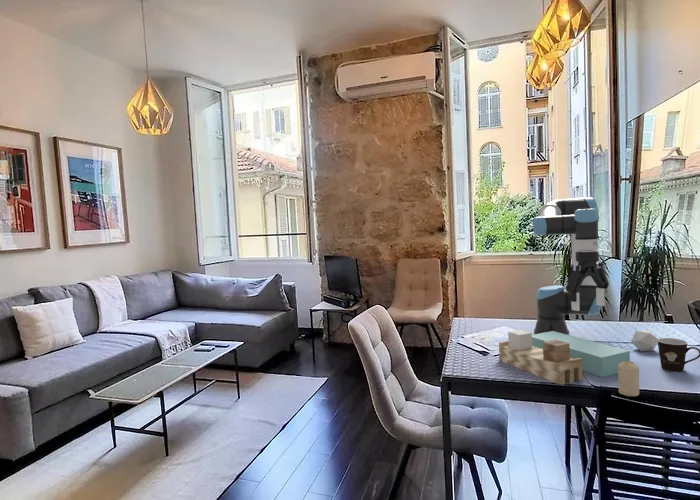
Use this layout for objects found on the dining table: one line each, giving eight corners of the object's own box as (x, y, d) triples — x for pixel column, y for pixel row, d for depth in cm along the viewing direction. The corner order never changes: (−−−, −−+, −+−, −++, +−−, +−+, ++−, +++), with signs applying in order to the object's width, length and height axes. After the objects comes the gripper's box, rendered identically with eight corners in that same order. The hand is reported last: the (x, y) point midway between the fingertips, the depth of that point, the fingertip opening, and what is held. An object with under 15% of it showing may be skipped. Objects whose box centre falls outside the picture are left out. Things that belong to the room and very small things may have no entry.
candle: (631, 398, 133) (631, 366, 133) (614, 392, 138) (614, 361, 138) (643, 394, 135) (642, 362, 135) (626, 388, 140) (625, 358, 140)
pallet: (499, 361, 174) (498, 342, 174) (518, 357, 178) (518, 338, 177) (561, 385, 146) (560, 363, 146) (582, 380, 150) (582, 358, 150)
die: (658, 355, 171) (665, 334, 173) (636, 345, 172) (644, 323, 175) (644, 357, 179) (651, 336, 181) (624, 347, 180) (631, 326, 182)
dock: (528, 352, 182) (527, 335, 182) (553, 346, 187) (552, 330, 187) (602, 377, 151) (601, 357, 150) (629, 370, 156) (629, 350, 156)
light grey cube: (508, 346, 171) (508, 331, 171) (520, 344, 174) (520, 329, 173) (519, 350, 166) (519, 335, 165) (532, 347, 168) (531, 332, 168)
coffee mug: (652, 367, 157) (651, 340, 156) (667, 363, 160) (666, 336, 160) (687, 377, 146) (687, 348, 146) (703, 372, 150) (702, 344, 149)
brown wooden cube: (543, 358, 155) (542, 342, 155) (555, 355, 157) (555, 339, 157) (557, 363, 150) (556, 346, 149) (569, 360, 152) (569, 343, 152)
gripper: (572, 253, 151) (573, 314, 152) (618, 248, 161) (620, 305, 163) (554, 253, 158) (555, 310, 159) (600, 248, 168) (601, 302, 169)
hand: (588, 308), depth 161 cm, fingers open, 13 cm apart
